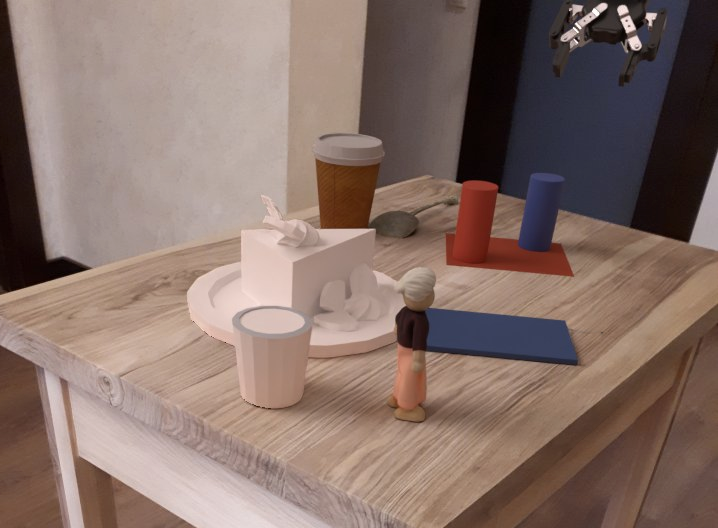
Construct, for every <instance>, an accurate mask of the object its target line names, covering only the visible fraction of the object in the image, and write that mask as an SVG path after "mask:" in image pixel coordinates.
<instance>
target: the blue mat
mask: <svg viewBox="0 0 718 528" xmlns="http://www.w3.org/2000/svg"><path fill="white" fill-rule="evenodd" d="M425 312H426V315H427V318H428V321H429V325H430V326H429V334H428V337H427V349H426V352H427V351H428V352H437V353H447V354H449V353H450V354H456V355H457V354H458V355H466V356H467V355H469V356H478V357H479V356H480V357H488V358H499V359H509V360H511V359H512V360H519V361H529V362H541V363H552V364H561V365H562V364H563V365H571V366H572V365H574V366H578V362H579V359H578V355H577V353H576V349H575V346H574V343H573V340H572V337H571V333H570V331H569V328H568V326H567V321H566V320H562V319H552V318H543V317H533V316H532V317H531V316H521V315H510V314H500V313H489V312H479V311H470V310H469V311H468V310H458V309H449V308H447V309H446V308H437V307H429V308H428V309H427V310H425Z"/></svg>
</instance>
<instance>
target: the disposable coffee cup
mask: <svg viewBox="0 0 718 528" xmlns="http://www.w3.org/2000/svg"><path fill="white" fill-rule="evenodd" d="M383 146H384V145H383V141H382V139H380V138H377V137H375V136H372V135H367V134H361V133H354V132H353V133H352V132H328V133H323V134H319V135H316V137H315V141H314V144H313V145H312V147H311V152H312V153H313V157H314V160H315V172H316V173H315V174H316V186H317V197H318V198H317V199H318V210H319V211H318V214H319V223H320V224H319V225H320V229H369V224H370V218H371V213H372V208H373V204H374V203H373V202H374V198H375V192H376V188H377V183H378V177H379V173H380V168H381V163H382V161H383V159H384V157H385V156H386V152H385V150H384V147H383Z"/></svg>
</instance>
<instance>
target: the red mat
mask: <svg viewBox="0 0 718 528" xmlns="http://www.w3.org/2000/svg"><path fill="white" fill-rule="evenodd" d="M455 234H456V233H451V232H450V233H449V232H445V255H446V256H445V260H446V261H445V265H446V266H451V267H453V266H454V267H463V268H474V269H475V268H476V269H484V270H494V271H495V270H496V271H505V272H506V271H507V272H518V273H528V274H529V273H530V274H539V275H540V274H541V275H549V276H550V275H551V276H562V277H570V278H571V277H572V278H574V277H575V275H574V273H573V270H572V267H571V265H570V262H569V260H568V258H567V257H568V256H567V255H566V252H565V249H564V248H563V245H562V243H559V242H552V243H551V248H550V250H548V251H544V252H535V251H529V250H525V249H522V248H520V247H519V246H518V240H519V238H518V239H516V238H506V237H505V238H504V237H496V236H490V241H489V247H488V253H487V259H486V261H484V262H482V263H465V262H461V261H458V260H456V259H454V258H453V256H452V255H453V248H454V241H455Z"/></svg>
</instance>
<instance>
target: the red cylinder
mask: <svg viewBox="0 0 718 528" xmlns="http://www.w3.org/2000/svg"><path fill="white" fill-rule="evenodd" d="M498 193H499V185H497V184H496V183H493V182H490V181H485V180H467V181H463V182H462V184H461V192H460V198H459V199H460V200H459V206H458V213H457V220H456V227H455V233H454V234H455V241H454V248H453V255H452V256H453V258H454V259H456V260H458V261H461V262H465V263H482V262H484V261H486V259H487V253H488V247H489V241H490V237H491V235H492V228H493V222H494V217H495V212H496V211H495V210H496V205H497V198H498Z"/></svg>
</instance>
